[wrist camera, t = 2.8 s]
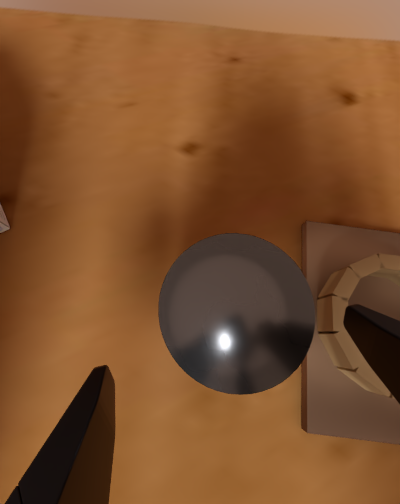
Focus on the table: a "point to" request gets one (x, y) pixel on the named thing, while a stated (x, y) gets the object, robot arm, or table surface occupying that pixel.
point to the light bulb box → (3, 221)
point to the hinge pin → (236, 313)
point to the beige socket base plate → (337, 338)
